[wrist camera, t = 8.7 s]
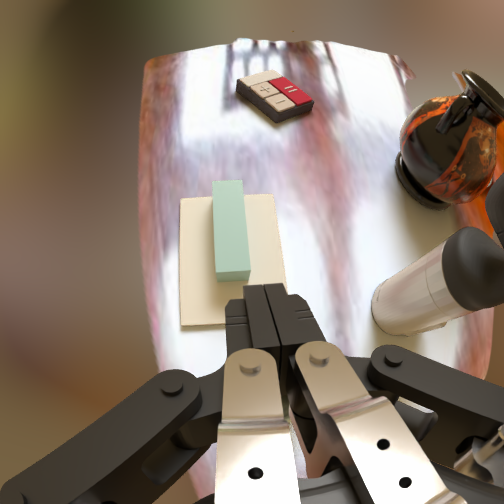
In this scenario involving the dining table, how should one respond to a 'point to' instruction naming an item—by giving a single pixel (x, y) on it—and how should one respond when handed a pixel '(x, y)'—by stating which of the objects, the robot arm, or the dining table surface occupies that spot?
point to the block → (230, 232)
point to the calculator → (274, 95)
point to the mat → (203, 257)
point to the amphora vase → (451, 145)
